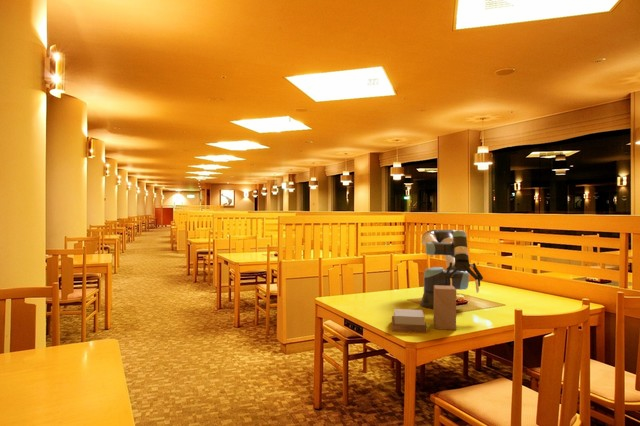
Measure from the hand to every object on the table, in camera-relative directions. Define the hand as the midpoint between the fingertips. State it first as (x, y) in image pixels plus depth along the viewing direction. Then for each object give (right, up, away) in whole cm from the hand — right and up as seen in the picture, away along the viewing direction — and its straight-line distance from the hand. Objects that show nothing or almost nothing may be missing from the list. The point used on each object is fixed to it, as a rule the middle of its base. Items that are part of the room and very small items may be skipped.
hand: (464, 291), depth 218 cm
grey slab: (-33, -12, -16) cm, 39 cm away
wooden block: (-15, -15, -14) cm, 26 cm away
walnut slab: (-34, -16, -15) cm, 40 cm away
